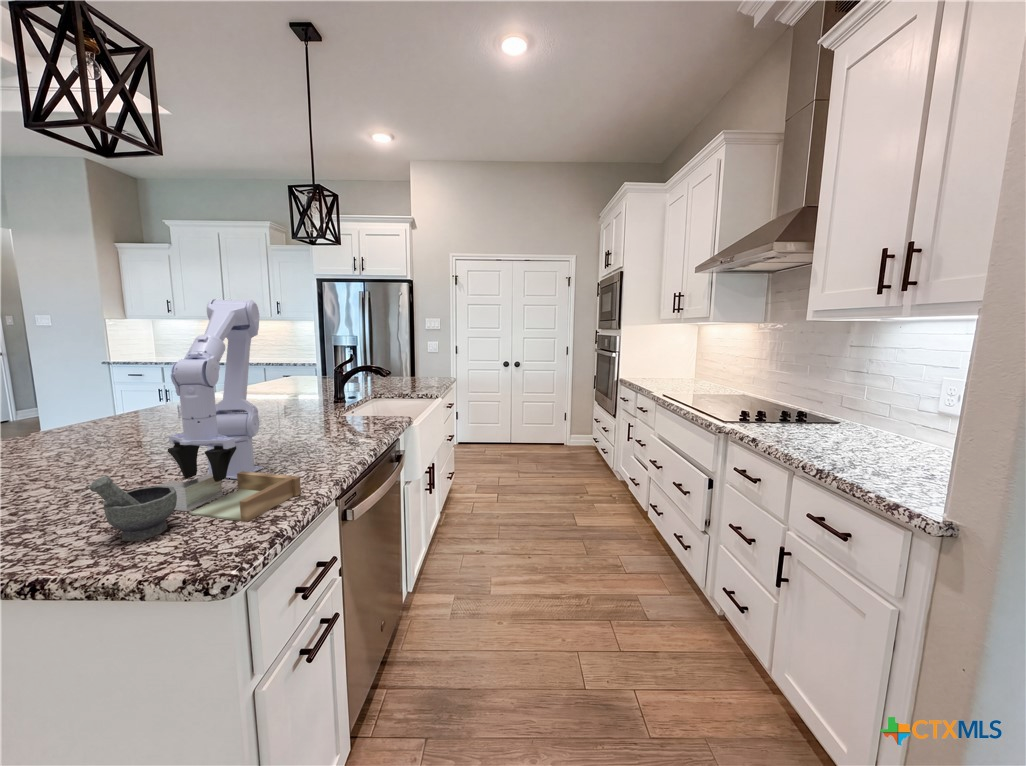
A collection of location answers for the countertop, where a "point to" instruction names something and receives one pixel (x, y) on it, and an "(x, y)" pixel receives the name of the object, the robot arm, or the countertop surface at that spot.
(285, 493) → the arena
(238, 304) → the robot arm
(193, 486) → the bracket
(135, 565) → the countertop surface
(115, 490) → the mortar and pestle
